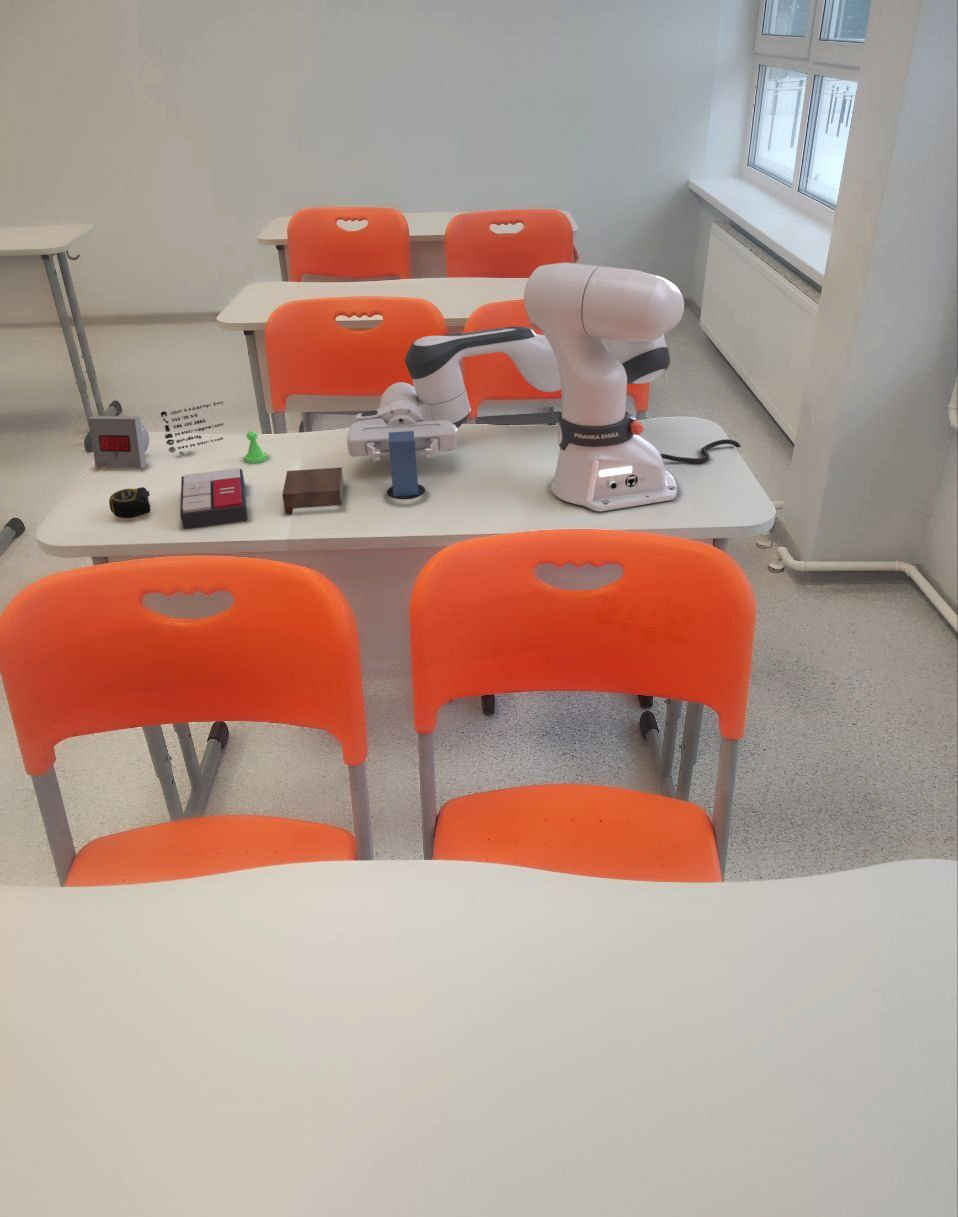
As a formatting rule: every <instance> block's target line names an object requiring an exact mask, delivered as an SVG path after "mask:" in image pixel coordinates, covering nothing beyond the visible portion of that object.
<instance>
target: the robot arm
mask: <svg viewBox="0 0 958 1217" xmlns="http://www.w3.org/2000/svg"><path fill="white" fill-rule="evenodd" d="M523 305H524V309H525V311H526V315H527V316H528V318H529V320H530V321H531V322H532V323H533V324H534V325H535V326H536V327H537V328H538V329H539V330H540V331H541V333H542V334H538V333H535V331H534V330H533V329H532V328H530V327H527V326H517V325H516V326H506V327H497V328H490V329H483V330H475V331H468V332H462V333H453V334H441V335H440V334H439V335H427V336H426V335H425V336H422V337H420V338H418V339H415V340H413V341H412V343H411V344H410V347H409V348H408V350H407V352H406V354H405V357H404V363H405V366H406V369H407V371H408V373H409V376H410V378H411V380H412V384H413V385H412V384H410V383H408V382H403V381H399V382H394V383H393V384H390V385H389V386H388V387H387V388H386V389H385V390H384V391H383V393H382V395H381V397H380V400H379V405H378V408H377V409H374V410H370V411H369V410H368V411H365V412H361V413H357V414H356V415H355V417H354V422H353V423H352V424H351V425H350V427H349V429H348V431H347V436H346V444H347V453H348V455H349V456H350V457H353V458H360V457H361V458H362V457H369V458H371V459H372V461H373V462H381V461H382V456H390V449H389V432H404V431H414V436H415V450H416V454H425V459H433V458H435V455H436V454H438V453H440V452H442V453H443V452H454V451H455V450H456V449H457V448H458V434H457V433H458V429H459V428H460V427H461V426H462V425H463V424H464V423H465V422H466V420H467V419H468V417H469V416H470V414H471V410H472V409H471V405H470V400H469V397H468V393H467V388H466V386H465V382H464V379H463V374H462V369H461V367H460V362H461V360H462V359H463V358H468V357H474V356H481V355H487V354H494V353H503V354H505V355H507V357H509V359H510V360H511V362H512V363H513V365H514V366H515V367H516V369H517V370H518V372H519V374H520V375H521V377H522V378H523V379H524V380H525V381H526V382H527V383H528V384H529V385H530V386H531V387H533V388H534V389H536V390H538V391H539V392H540V391H541V392H544V393H554V392H558V391H560V392H561V412H560V413H559V414H558V423H557V444H558V446H559V449H558V456H557V462H556V468H555V472H554V476H553V480H552V483H551V486H550V490H551V492H552V493H553V495H554V496H555V497H556V498H558V499H560V500H562V501H564V502H567V503H570V504H574V505H578V506H581V507H585V508H587V509H590V510H591V511H594V512H600V513H601V512H607V511H608V512H609V511H613V510H619V509H624V508H633V507H638V506H644V505H650V504H656V503H657V504H658V503H662V502H667V501H672V500H674V499H676V497H677V495H678V485H677V482H676V481H675V480H676V479H674V477H673V475H672V474H671V473H670V472H668V471H667V470H666V468H665V462H664V460H668V461H673V462H678V463H687V464H688V463H689V464H690V463H691V464H701V463H706V462H708V461H709V460H710V454H709V452H708V450H710V449H712V448H715V447H718V446H722V445H732V446H734V447H735V448H741V447H742V445H741V444H740V443H739V442H738V441H736V440H734V439H728V438H725V439H719V440H715V441H712V442H710V443H707V444H705V445H704V446H703V447H701V450H700V451H701V454H702V456H703V457H684V456H675V455H672V454H668V453H667V454H666V453H660V452H659V450H658V449H657V448H656V447H655V446H654V445H653V444H652V443H650V442H649V441H647V440H646V439H644V438H643V437H642V436H640V435H642V433H644V426H643V424H642V423H641V421H639V420H637V418H636V417H635V416H634V415H633V414H631V412H629V410H627V408H626V406H627V390H628V384H630V385H641V384H647V383H650V382H653V381H655V380H656V379H658V378H659V377H660V376H661V375H662V374H663V373H664V372H666V371H667V370H668V369H669V367H670V365H671V354H670V350H669V349H670V348H669V347H668V346H667V344H666V338H665V335H664V334H666V333H668V332H670V331H671V330H673V329H674V328H675V327H676V326H677V325H678V324H679V323H680V321H681V320H682V318H683V315H684V311H685V300H684V296H683V294H682V292H681V290H680V289H679V288H678V287H677V286H676V285H675V284H674V283H672V282H671V281H669V280H668V279H666V278H664V277H662V276H659V275H656V274H651V273H648V272H645V271H641V270H637V269H629V268H619V267H611V266H603V265H602V266H601V265H594V264H593V265H592V264H584V263H583V264H582V263H574V262H573V263H572V262H559V263H558V262H557V263H550V264H543V265H539V266H538V267H536V268H535V270H533V271H532V273H531V275H530V276H529V277H528V280H527V281H526V283H525V286H524V290H523Z"/></svg>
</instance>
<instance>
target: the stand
mask: <svg viewBox="0 0 958 1217" xmlns="http://www.w3.org/2000/svg"><path fill="white" fill-rule="evenodd" d="M343 474H344V473H343V467H342V466H341V467H327V468H326V467H325V468H311V469H294V470H286V474H285V479H284V485H283V490H282V494H281V495H282V500H283V506H284V514H285V515H293V512H294V509H303V508H304V509H305V508H317V507H330V506H332V507H333V506H342V502H343V491H344V475H343Z"/></svg>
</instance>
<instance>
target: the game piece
mask: <svg viewBox="0 0 958 1217" xmlns="http://www.w3.org/2000/svg"><path fill="white" fill-rule="evenodd" d="M245 436H246V438H247V441H249V446H248V450H247V454H245V462H246V463H249V464H258V463H259V464H260V463H262V462H264V461H267V453H266V452H264V451H263V450H262V448H261V446H260V445H259V443H258V442H257V439H258V438H259V435H258V433H257V432H256V431H254V430H249V431H248V432H247V433H246V435H245Z"/></svg>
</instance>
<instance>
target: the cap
mask: <svg viewBox="0 0 958 1217" xmlns="http://www.w3.org/2000/svg"><path fill="white" fill-rule="evenodd" d="M418 492H419V495H414V496H399V497H394V495H393V485H392V486H390V487H389V488H388V489H387V490H386V495H387V496H388V497H390V498H391V499H395V500H403V501H405V500H412V499H416V498H419V497H421V496H422V495H424V494H425V492H426V488H425V487H424V486H423V485H421V484H419V483H418Z"/></svg>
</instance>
